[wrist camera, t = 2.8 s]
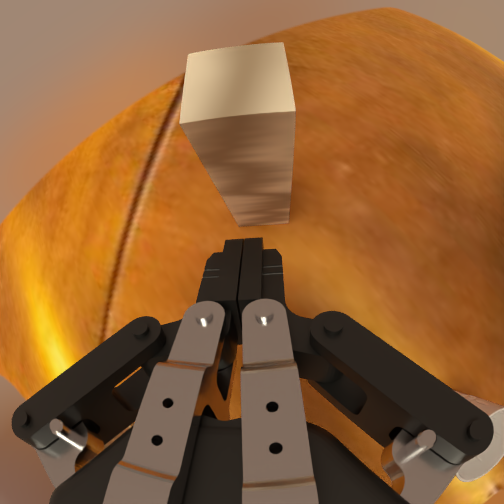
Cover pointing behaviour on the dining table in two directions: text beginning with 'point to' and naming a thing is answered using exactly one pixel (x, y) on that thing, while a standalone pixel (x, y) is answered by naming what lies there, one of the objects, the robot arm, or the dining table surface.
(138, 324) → the robot arm
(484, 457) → the white cup
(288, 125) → the birch block
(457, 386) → the dining table surface
